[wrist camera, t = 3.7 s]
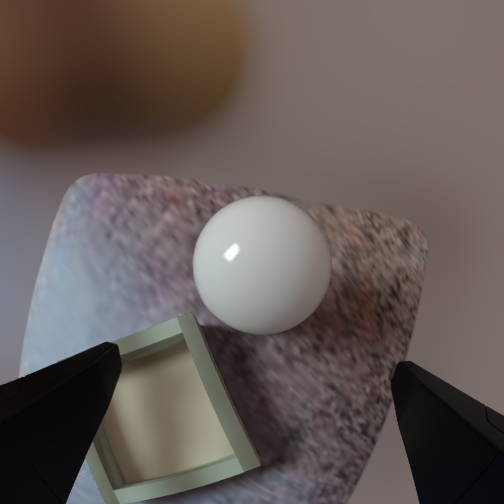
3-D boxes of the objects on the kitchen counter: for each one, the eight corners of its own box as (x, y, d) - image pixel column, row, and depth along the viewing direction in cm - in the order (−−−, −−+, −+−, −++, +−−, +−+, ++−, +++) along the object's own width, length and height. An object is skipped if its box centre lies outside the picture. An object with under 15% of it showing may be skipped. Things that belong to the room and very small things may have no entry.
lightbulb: (302, 363, 19) (352, 315, 10) (207, 355, 20) (163, 298, 10) (305, 277, 23) (341, 173, 13) (219, 270, 23) (198, 162, 13)
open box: (124, 496, 14) (106, 506, 12) (78, 369, 19) (57, 361, 16) (259, 457, 16) (261, 465, 14) (199, 324, 21) (192, 311, 18)
